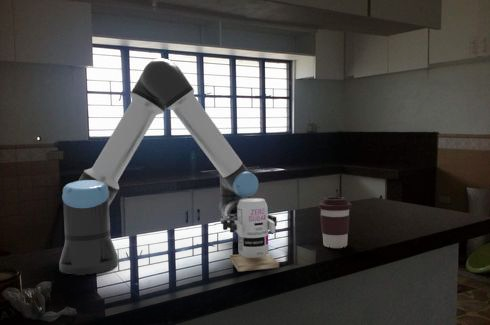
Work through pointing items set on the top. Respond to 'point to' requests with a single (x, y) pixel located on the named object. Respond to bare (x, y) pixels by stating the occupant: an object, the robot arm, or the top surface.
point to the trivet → (253, 262)
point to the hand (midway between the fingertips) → (257, 228)
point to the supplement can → (253, 227)
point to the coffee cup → (335, 221)
